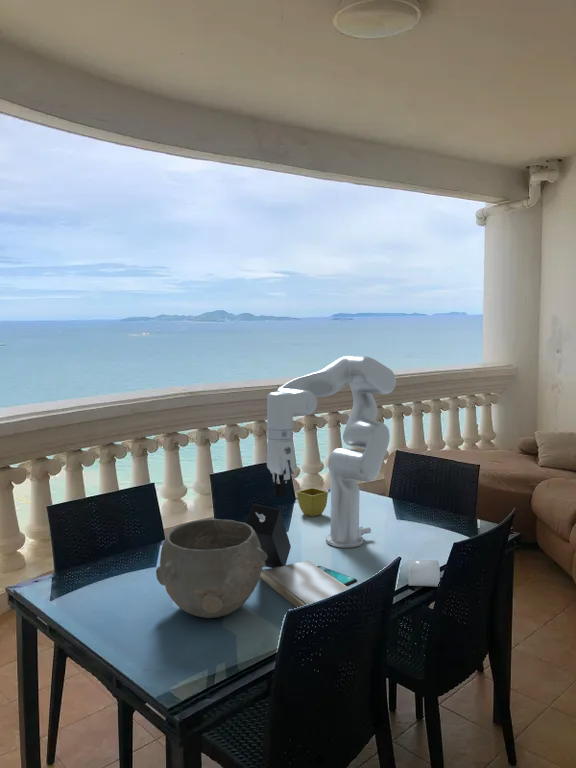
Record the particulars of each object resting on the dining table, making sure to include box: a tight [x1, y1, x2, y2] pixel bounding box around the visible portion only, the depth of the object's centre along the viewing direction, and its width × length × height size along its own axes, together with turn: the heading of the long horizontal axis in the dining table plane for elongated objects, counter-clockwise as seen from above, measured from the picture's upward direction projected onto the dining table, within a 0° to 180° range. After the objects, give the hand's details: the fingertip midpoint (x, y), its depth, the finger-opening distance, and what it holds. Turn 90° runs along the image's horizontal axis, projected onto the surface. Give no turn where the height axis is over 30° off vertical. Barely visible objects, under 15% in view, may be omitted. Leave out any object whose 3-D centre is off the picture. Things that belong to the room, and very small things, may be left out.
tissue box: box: [245, 503, 292, 569], centre depth 173 cm, size 8×8×28 cm
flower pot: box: [296, 487, 329, 518], centre depth 236 cm, size 9×9×9 cm
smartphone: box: [317, 565, 358, 587], centre depth 177 cm, size 7×1×15 cm
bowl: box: [155, 518, 267, 619], centre depth 156 cm, size 27×29×20 cm
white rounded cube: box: [406, 559, 441, 587], centre depth 171 cm, size 7×7×8 cm
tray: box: [260, 560, 350, 608], centre depth 168 cm, size 16×28×2 cm, turn 29°
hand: (279, 495), depth 181 cm, fingers closed
